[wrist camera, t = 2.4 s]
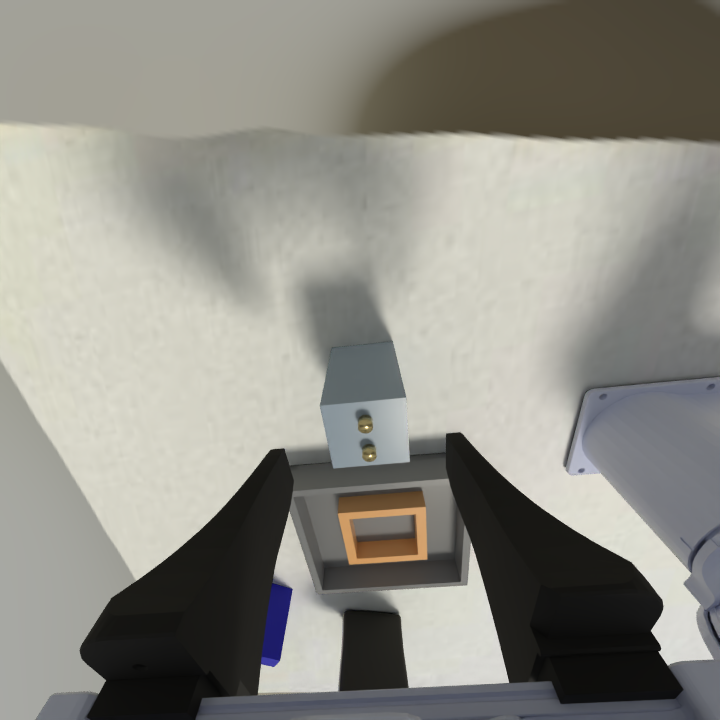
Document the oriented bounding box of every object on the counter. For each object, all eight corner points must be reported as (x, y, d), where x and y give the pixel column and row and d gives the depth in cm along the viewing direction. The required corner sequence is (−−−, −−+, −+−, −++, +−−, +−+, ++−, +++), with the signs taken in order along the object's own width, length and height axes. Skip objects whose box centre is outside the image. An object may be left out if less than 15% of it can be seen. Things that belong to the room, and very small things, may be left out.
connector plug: (392, 341, 20) (407, 403, 13) (396, 393, 21) (411, 469, 15) (331, 347, 20) (318, 412, 14) (340, 398, 22) (332, 476, 15)
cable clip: (253, 575, 32) (232, 650, 27) (292, 586, 33) (279, 660, 28) (220, 625, 37) (196, 696, 31) (255, 633, 38) (238, 704, 32)
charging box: (464, 451, 24) (475, 476, 21) (459, 557, 30) (467, 585, 28) (290, 466, 24) (283, 491, 22) (320, 566, 31) (317, 594, 29)
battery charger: (339, 624, 36) (330, 787, 26) (342, 607, 34) (334, 776, 24) (396, 628, 37) (410, 791, 26) (402, 611, 35) (420, 779, 25)
